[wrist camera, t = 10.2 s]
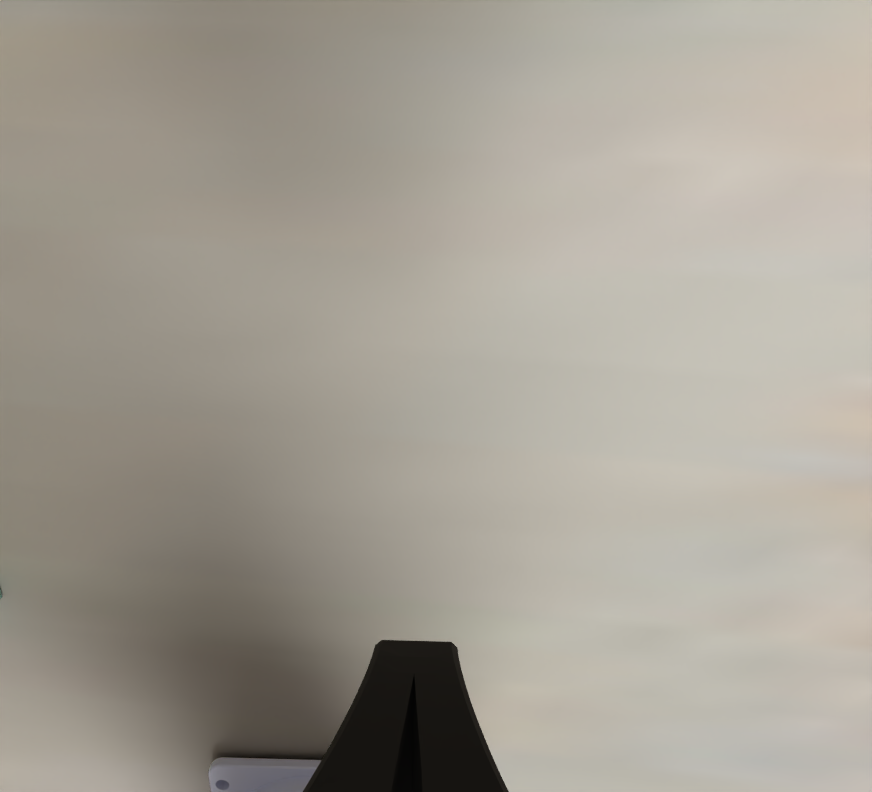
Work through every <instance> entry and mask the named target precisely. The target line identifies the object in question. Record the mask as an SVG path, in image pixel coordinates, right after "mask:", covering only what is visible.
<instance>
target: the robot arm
mask: <svg viewBox="0 0 872 792" xmlns="http://www.w3.org/2000/svg"><path fill="white" fill-rule="evenodd" d="M208 775H209V783H210V790H211V792H508V790H507V788H506V785H505V783H504V781H503V779H502V777H501V775H500V773H499V771H498V768H497V766H496V764H495V762H494V759H493V757H492V755H491V753H490V750H489V748H488V745H487V743H486V740H485V738H484V735H483V733H482V730H481V728H480V726H479V723H478V721H477V718H476V715H475V712H474V710H473V707H472V704H471V701H470V698H469V695H468V692H467V689H466V685H465V682H464V678H463V675H462V671H461V667H460V662H459V657H458V650H457V647H456V646H455V645H454V644H453V643H452V642H433V641H396V640H381V641H380V642H379V643H378V644H376V645H375V648H374V652H373V655H372V658H371V661H370V664H369V666H368V669H367V672H366V674H365V677H364V679H363V681H362V684H361V686H360V688H359V690H358V692H357V694H356V697H355V699H354V701H353V703H352V705H351V707H350V709H349V711H348V713H347V715H346V717H345V719H344V721H343V722H342V724H341V726H340V728H339V730H338V732H337V734H336V736H335V738H334V740H333V742H332V743H331V745H330V747H329V749H328V750H327V752H326V754H325V755H324V757H323V759H322V760H301V759H265V758H228V757H222V758H217V759H215V760H214V761H213V762H212V763H211V766H210V768H209V772H208Z"/></svg>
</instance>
